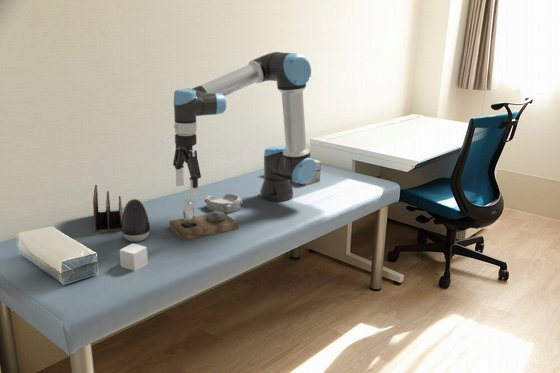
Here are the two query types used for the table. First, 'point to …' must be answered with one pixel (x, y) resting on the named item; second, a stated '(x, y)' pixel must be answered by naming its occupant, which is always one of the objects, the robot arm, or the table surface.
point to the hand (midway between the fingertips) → (186, 190)
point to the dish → (224, 203)
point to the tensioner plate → (204, 225)
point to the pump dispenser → (135, 221)
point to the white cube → (133, 256)
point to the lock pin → (188, 214)
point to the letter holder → (106, 216)
